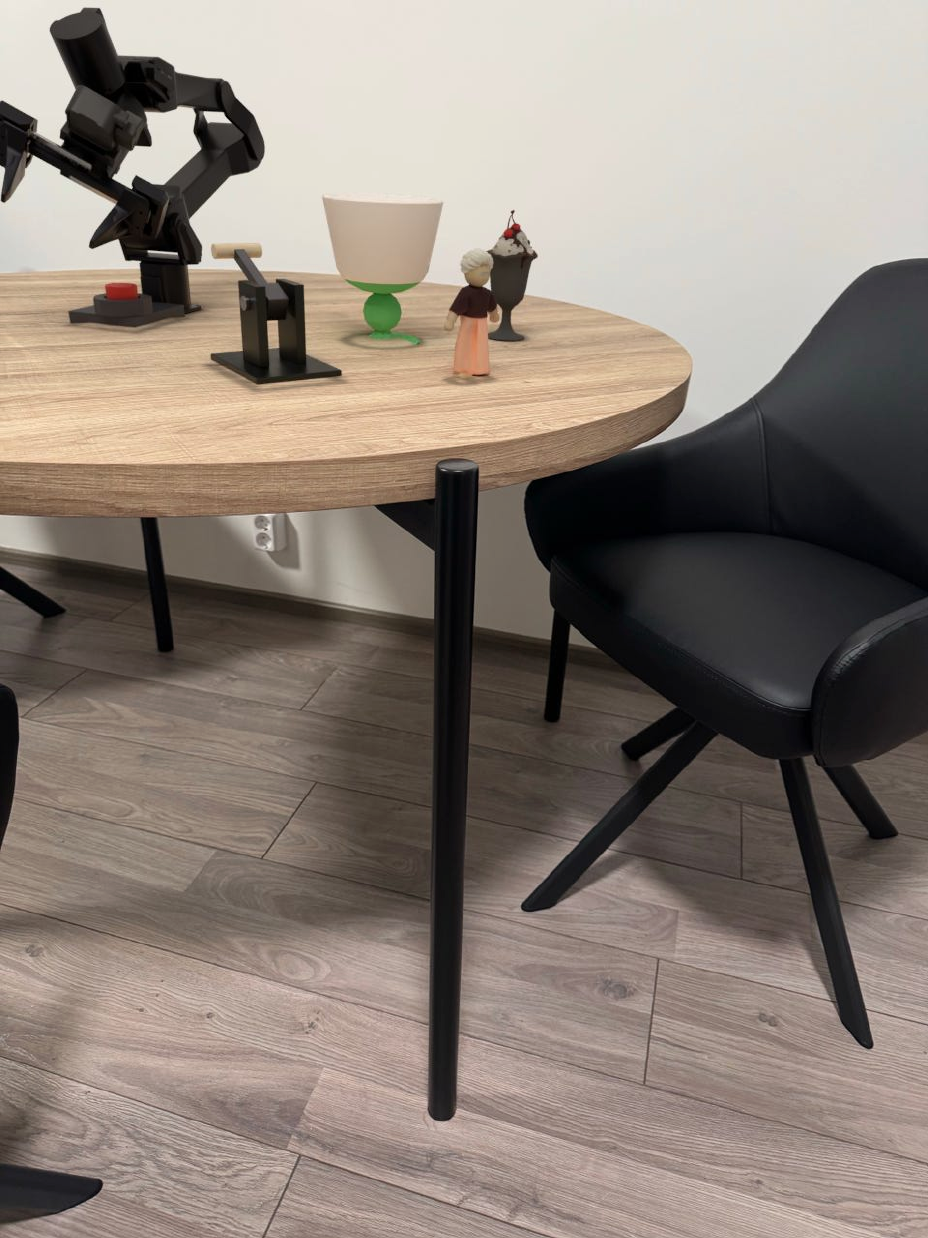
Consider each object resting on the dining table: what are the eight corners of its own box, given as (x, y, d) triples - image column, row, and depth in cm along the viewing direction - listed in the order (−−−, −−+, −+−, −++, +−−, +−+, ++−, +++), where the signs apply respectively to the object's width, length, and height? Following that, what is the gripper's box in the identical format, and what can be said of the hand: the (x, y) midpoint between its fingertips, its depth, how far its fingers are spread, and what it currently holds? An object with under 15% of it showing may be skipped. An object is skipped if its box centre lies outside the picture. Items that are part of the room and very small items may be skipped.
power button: (118, 296, 111) (116, 281, 110) (144, 299, 110) (142, 284, 109) (100, 300, 108) (98, 285, 107) (127, 303, 107) (125, 287, 106)
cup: (301, 337, 110) (296, 193, 102) (385, 326, 119) (386, 192, 111) (378, 358, 102) (379, 202, 94) (462, 344, 111) (468, 201, 103)
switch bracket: (211, 364, 95) (203, 275, 91) (290, 357, 100) (286, 272, 95) (257, 391, 86) (251, 293, 82) (342, 381, 91) (340, 289, 87)
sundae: (495, 343, 112) (503, 210, 105) (470, 333, 117) (476, 205, 110) (541, 341, 115) (552, 211, 108) (514, 331, 120) (523, 206, 113)
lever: (209, 257, 94) (211, 236, 92) (255, 256, 96) (258, 235, 94) (251, 322, 89) (254, 300, 87) (298, 319, 91) (302, 297, 89)
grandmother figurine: (468, 388, 91) (475, 252, 85) (436, 381, 93) (440, 248, 87) (506, 375, 97) (514, 247, 91) (475, 369, 99) (482, 243, 93)
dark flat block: (123, 312, 119) (120, 283, 118) (186, 318, 117) (184, 289, 116) (66, 326, 109) (61, 295, 107) (134, 333, 107) (130, 302, 105)
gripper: (26, 21, 93) (-46, 110, 86) (200, 123, 99) (146, 215, 92) (20, 108, 103) (-46, 195, 95) (179, 197, 109) (129, 286, 101)
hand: (47, 222), depth 96 cm, fingers open, 9 cm apart
